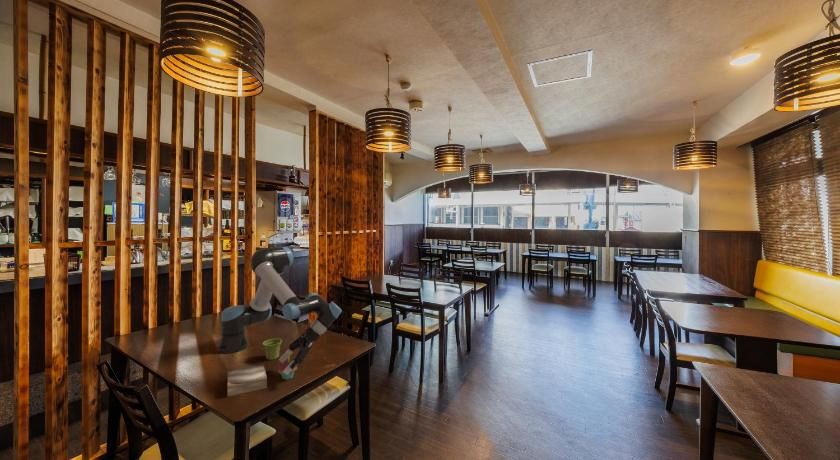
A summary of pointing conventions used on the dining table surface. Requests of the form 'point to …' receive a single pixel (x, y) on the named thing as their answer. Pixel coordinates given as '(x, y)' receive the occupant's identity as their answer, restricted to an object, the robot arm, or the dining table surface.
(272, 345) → the plant pot
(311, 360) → the dining table surface
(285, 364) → the cupcake
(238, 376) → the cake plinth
